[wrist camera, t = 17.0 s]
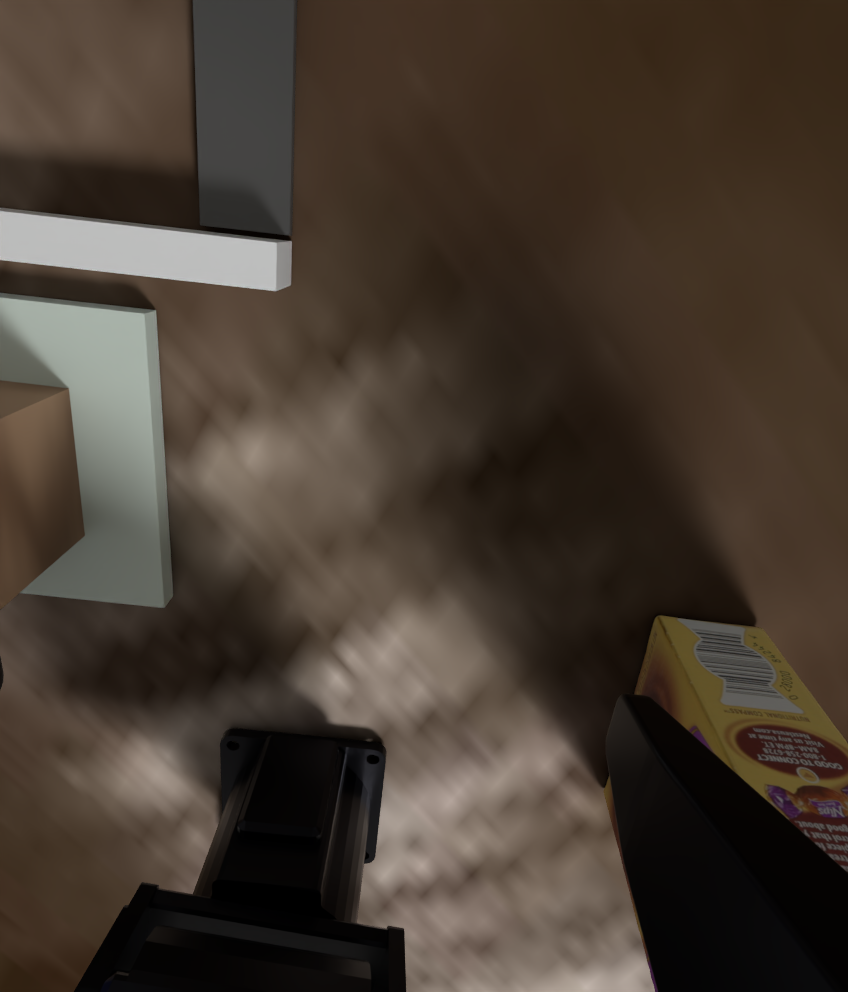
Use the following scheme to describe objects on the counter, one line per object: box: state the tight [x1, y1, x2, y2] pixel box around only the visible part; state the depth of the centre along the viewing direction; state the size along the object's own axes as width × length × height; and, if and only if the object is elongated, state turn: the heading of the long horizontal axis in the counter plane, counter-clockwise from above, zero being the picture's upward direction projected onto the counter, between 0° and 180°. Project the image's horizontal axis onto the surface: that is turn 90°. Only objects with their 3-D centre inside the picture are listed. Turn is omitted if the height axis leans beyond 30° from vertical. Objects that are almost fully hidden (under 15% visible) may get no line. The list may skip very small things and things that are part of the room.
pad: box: [0, 293, 173, 608], centre depth 20 cm, size 10×10×1 cm
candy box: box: [604, 615, 848, 992], centre depth 17 cm, size 9×4×15 cm, turn 175°
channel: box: [0, 0, 297, 291], centre depth 16 cm, size 10×14×2 cm
